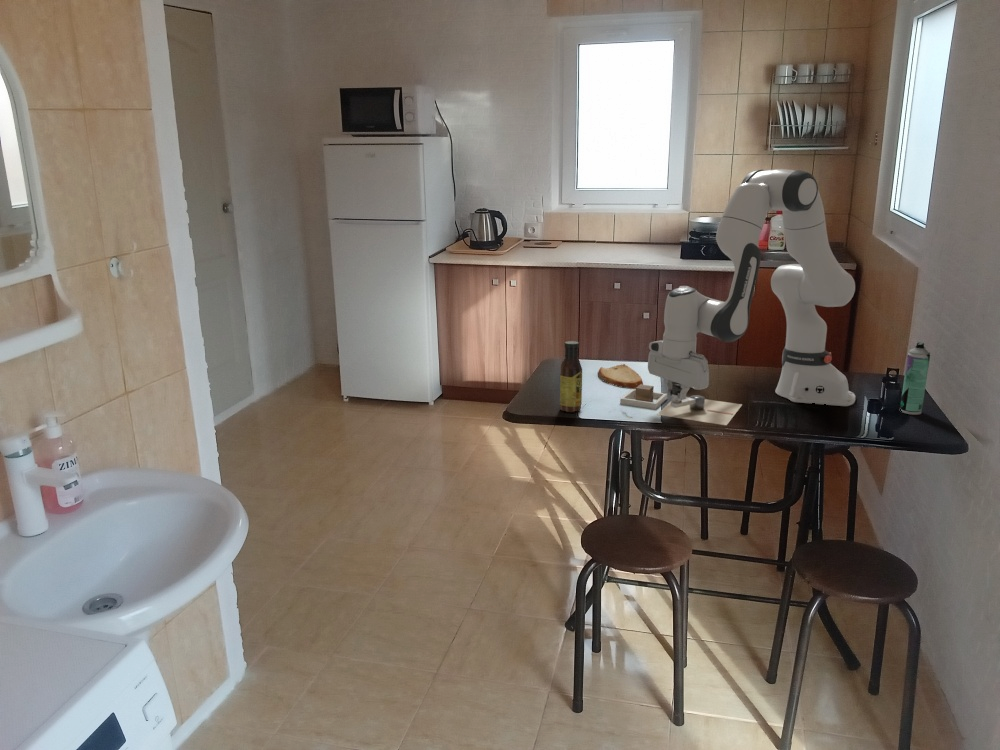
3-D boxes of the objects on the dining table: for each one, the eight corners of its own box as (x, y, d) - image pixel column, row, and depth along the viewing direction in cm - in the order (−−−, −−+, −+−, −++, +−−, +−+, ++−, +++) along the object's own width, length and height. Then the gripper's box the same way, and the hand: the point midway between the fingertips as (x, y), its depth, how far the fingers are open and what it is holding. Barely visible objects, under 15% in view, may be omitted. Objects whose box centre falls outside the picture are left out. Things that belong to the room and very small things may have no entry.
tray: (666, 403, 224) (667, 393, 223) (655, 413, 215) (656, 403, 214) (632, 398, 229) (632, 389, 228) (620, 408, 220) (620, 398, 219)
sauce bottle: (580, 414, 216) (581, 345, 210) (558, 412, 217) (559, 344, 211) (582, 406, 222) (584, 340, 216) (561, 405, 223) (562, 339, 218)
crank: (696, 404, 217) (698, 378, 215) (707, 408, 214) (709, 381, 212) (667, 411, 211) (668, 384, 209) (677, 415, 208) (678, 388, 206)
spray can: (920, 410, 217) (931, 341, 212) (922, 415, 212) (932, 346, 207) (899, 407, 219) (908, 340, 214) (900, 413, 214) (910, 344, 209)
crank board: (741, 409, 219) (742, 404, 218) (726, 430, 202) (726, 424, 201) (676, 400, 227) (677, 394, 227) (656, 419, 211) (656, 414, 210)
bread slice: (640, 390, 238) (641, 379, 237) (586, 383, 246) (586, 372, 245) (656, 376, 254) (656, 365, 253) (604, 370, 261) (604, 359, 260)
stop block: (639, 400, 225) (640, 384, 223) (652, 402, 223) (653, 386, 221) (635, 404, 221) (635, 387, 220) (648, 406, 219) (649, 389, 218)
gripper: (716, 354, 198) (712, 405, 202) (661, 339, 215) (659, 386, 219) (698, 358, 195) (695, 409, 199) (645, 342, 212) (642, 389, 216)
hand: (676, 397), depth 209 cm, fingers closed on crank, 3 cm apart
